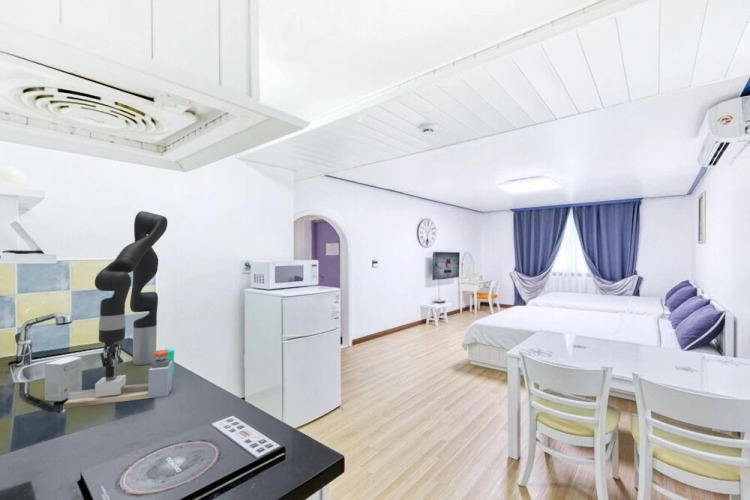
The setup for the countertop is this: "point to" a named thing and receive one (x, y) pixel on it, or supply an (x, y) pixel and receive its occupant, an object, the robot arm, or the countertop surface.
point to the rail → (90, 396)
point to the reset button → (161, 354)
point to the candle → (171, 356)
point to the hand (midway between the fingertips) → (111, 375)
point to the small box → (63, 378)
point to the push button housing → (160, 378)
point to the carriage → (110, 384)
